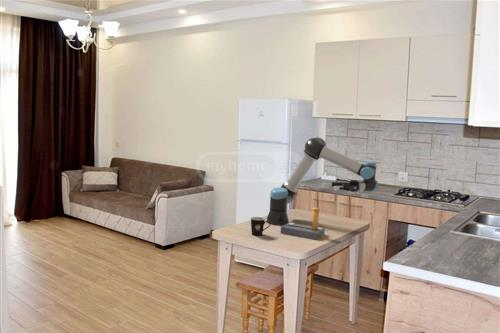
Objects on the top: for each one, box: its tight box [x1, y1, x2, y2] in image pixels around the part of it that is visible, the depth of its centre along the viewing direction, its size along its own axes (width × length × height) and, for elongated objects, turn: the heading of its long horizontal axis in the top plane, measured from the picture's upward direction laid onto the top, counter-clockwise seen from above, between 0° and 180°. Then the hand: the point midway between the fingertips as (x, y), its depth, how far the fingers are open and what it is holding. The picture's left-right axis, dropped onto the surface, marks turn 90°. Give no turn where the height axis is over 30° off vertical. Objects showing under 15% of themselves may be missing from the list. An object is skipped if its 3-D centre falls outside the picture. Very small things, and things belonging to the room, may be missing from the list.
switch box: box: [280, 222, 326, 241], centre depth 278 cm, size 24×14×4 cm, turn 62°
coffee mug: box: [250, 216, 271, 237], centre depth 271 cm, size 12×9×10 cm
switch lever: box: [311, 207, 321, 231], centre depth 273 cm, size 4×4×16 cm
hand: (328, 186), depth 281 cm, fingers open, 13 cm apart
